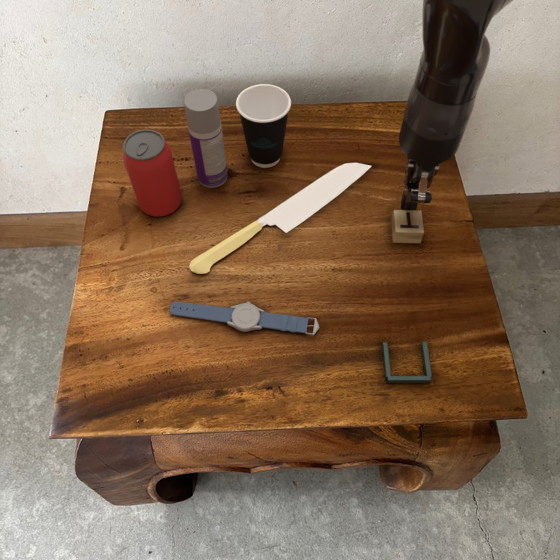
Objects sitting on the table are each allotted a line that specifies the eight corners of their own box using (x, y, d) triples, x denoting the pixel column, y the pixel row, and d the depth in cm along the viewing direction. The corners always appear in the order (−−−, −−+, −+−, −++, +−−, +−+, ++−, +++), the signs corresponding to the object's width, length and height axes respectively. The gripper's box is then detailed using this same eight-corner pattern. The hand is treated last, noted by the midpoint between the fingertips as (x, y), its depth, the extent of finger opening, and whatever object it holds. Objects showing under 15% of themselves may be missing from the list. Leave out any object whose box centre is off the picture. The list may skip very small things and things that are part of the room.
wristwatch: (317, 342, 71) (318, 339, 70) (166, 322, 72) (165, 318, 71) (321, 313, 73) (321, 310, 72) (174, 294, 74) (173, 290, 74)
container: (194, 170, 86) (178, 92, 74) (222, 162, 87) (212, 84, 75) (202, 191, 84) (188, 115, 71) (231, 183, 85) (222, 106, 72)
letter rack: (381, 345, 71) (382, 341, 70) (425, 345, 70) (426, 341, 70) (385, 383, 68) (386, 380, 67) (430, 383, 68) (432, 380, 67)
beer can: (132, 214, 82) (110, 157, 72) (148, 181, 85) (129, 122, 75) (174, 222, 81) (158, 165, 71) (188, 189, 84) (175, 130, 74)
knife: (380, 171, 86) (360, 150, 87) (203, 284, 74) (183, 258, 76) (378, 176, 87) (358, 156, 88) (203, 288, 76) (183, 263, 77)
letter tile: (390, 220, 81) (393, 209, 79) (417, 221, 81) (421, 209, 79) (392, 242, 79) (395, 231, 77) (420, 243, 79) (424, 232, 77)
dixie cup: (272, 132, 91) (271, 76, 81) (300, 161, 87) (302, 106, 78) (231, 152, 88) (225, 97, 79) (258, 182, 85) (255, 128, 76)
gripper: (470, 159, 62) (434, 246, 77) (465, 81, 69) (432, 175, 84) (404, 152, 62) (380, 240, 77) (405, 76, 69) (383, 170, 84)
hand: (407, 206), depth 80 cm, fingers closed
